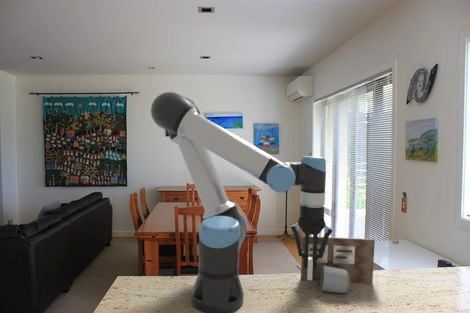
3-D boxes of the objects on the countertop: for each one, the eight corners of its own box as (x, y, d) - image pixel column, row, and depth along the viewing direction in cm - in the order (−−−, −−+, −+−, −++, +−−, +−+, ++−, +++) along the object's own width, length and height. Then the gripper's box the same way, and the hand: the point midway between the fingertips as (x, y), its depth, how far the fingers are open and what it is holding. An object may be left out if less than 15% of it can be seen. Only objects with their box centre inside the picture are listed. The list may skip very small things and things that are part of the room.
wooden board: (301, 280, 108) (303, 236, 107) (300, 279, 109) (302, 236, 108) (372, 284, 107) (375, 240, 106) (371, 282, 108) (373, 239, 107)
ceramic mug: (349, 298, 96) (351, 273, 96) (322, 295, 98) (323, 270, 97) (343, 283, 107) (344, 261, 107) (318, 281, 108) (319, 258, 108)
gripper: (332, 204, 102) (329, 276, 103) (291, 201, 105) (289, 271, 106) (334, 208, 95) (331, 285, 96) (290, 205, 98) (288, 280, 99)
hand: (309, 278), depth 101 cm, fingers closed
